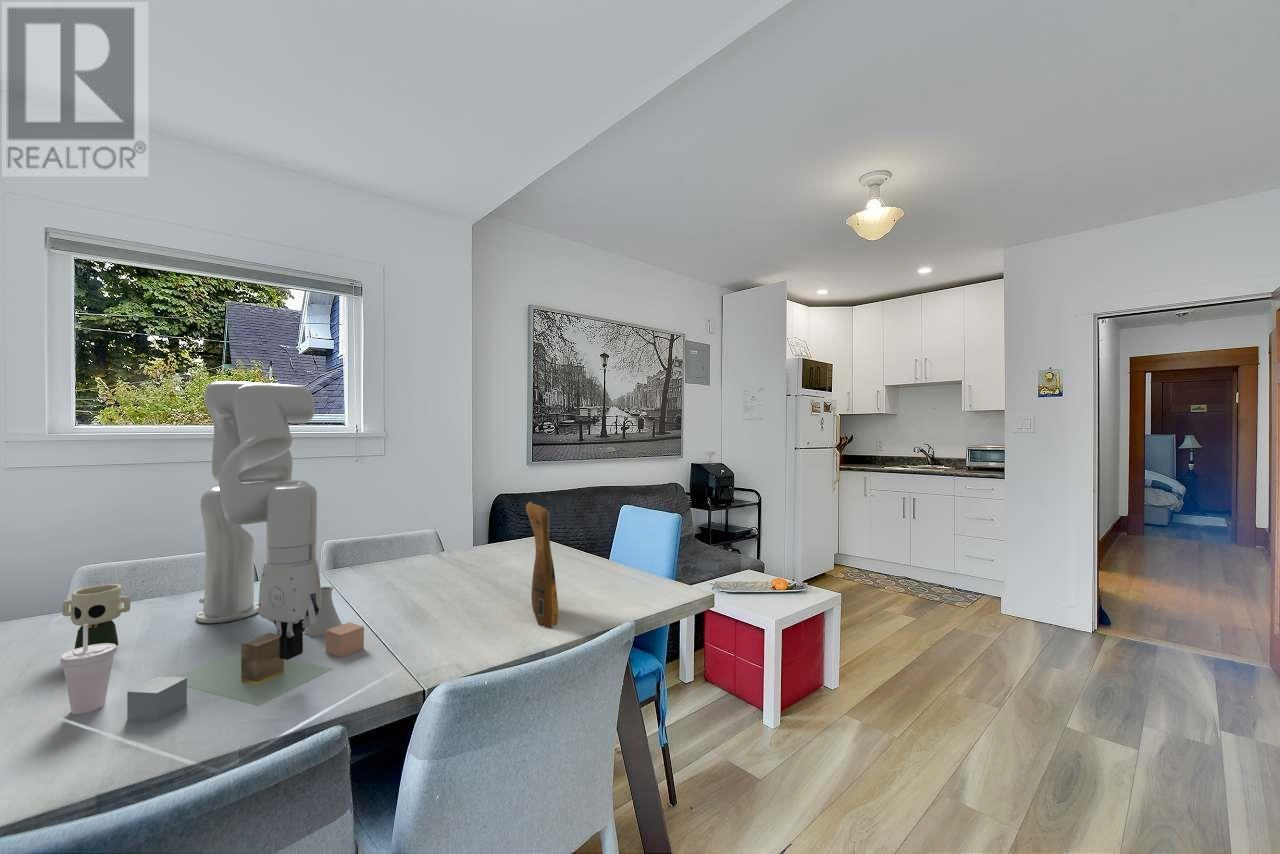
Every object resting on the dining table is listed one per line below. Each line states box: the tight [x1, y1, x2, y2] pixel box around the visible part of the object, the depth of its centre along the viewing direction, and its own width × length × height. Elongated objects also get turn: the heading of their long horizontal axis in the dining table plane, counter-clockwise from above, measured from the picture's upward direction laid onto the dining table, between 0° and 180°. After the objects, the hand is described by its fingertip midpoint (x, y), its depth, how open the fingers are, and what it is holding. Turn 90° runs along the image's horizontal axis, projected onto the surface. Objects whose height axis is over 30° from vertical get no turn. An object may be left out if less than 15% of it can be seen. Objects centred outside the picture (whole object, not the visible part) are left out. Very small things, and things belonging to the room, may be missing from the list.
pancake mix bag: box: [525, 501, 559, 629], centre depth 129 cm, size 7×19×28 cm, turn 19°
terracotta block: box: [325, 621, 365, 658], centre depth 108 cm, size 5×5×5 cm
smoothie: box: [59, 624, 117, 715], centre depth 86 cm, size 6×6×14 cm
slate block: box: [126, 675, 188, 723], centre depth 84 cm, size 5×5×5 cm
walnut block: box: [240, 632, 284, 685], centre depth 96 cm, size 4×5×7 cm
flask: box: [303, 586, 343, 638], centre depth 118 cm, size 7×7×10 cm
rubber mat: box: [175, 651, 333, 707], centre depth 97 cm, size 24×14×1 cm, turn 71°
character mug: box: [61, 583, 131, 649], centre depth 106 cm, size 11×7×13 cm, turn 107°
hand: (291, 656), depth 94 cm, fingers closed
